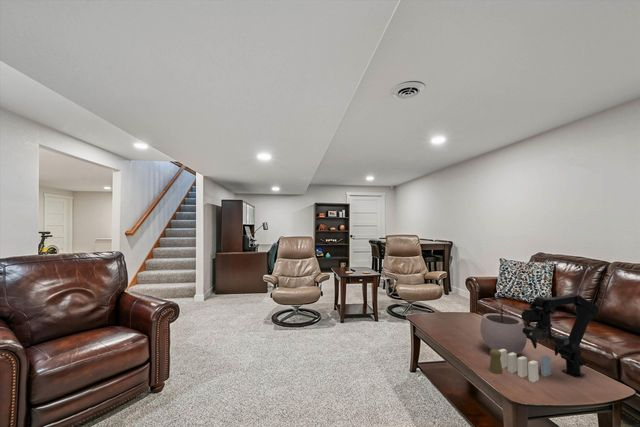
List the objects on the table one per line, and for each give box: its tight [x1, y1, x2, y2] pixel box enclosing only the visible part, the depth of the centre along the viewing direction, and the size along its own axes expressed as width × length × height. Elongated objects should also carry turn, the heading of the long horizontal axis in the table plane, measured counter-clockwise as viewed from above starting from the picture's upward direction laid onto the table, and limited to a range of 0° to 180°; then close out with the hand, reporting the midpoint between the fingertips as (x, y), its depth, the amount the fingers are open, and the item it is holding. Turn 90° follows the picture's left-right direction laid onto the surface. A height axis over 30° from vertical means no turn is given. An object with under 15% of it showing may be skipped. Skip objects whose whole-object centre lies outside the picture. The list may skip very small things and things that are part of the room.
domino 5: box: [540, 354, 552, 377], centre depth 144 cm, size 5×2×9 cm, turn 116°
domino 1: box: [498, 349, 508, 370], centre depth 152 cm, size 5×2×9 cm, turn 116°
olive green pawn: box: [488, 349, 503, 375], centre depth 148 cm, size 6×6×11 cm
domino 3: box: [517, 355, 529, 379], centre depth 143 cm, size 5×2×9 cm, turn 116°
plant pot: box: [479, 303, 528, 355], centre depth 170 cm, size 24×24×30 cm
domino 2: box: [507, 352, 518, 374], centre depth 148 cm, size 5×2×9 cm, turn 116°
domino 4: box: [527, 359, 540, 383], centre depth 139 cm, size 5×2×9 cm, turn 116°
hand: (545, 351), depth 145 cm, fingers open, 9 cm apart
